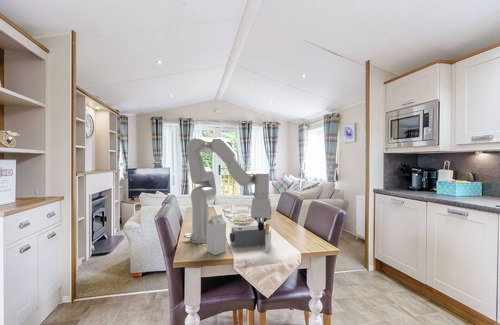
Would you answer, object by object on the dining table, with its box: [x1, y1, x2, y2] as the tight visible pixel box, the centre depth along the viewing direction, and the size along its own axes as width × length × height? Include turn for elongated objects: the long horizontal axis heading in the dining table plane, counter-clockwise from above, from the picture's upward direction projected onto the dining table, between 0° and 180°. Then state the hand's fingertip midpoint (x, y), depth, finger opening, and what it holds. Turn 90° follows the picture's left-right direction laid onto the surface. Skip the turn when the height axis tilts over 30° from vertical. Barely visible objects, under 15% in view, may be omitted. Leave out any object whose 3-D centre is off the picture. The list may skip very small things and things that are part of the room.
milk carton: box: [206, 213, 227, 256], centre depth 138 cm, size 7×7×19 cm
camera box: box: [229, 224, 271, 249], centre depth 151 cm, size 22×8×10 cm, turn 109°
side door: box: [264, 222, 272, 253], centre depth 144 cm, size 12×2×14 cm, turn 167°
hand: (260, 230), depth 142 cm, fingers closed
